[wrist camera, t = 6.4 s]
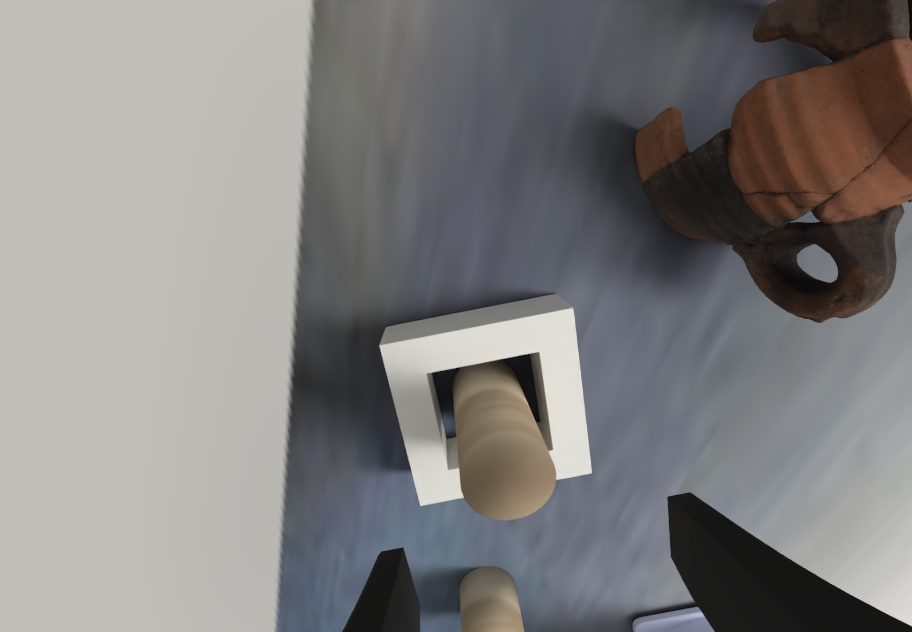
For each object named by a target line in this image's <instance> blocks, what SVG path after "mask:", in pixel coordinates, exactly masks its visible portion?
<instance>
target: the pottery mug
mask: <svg viewBox="0 0 912 632" xmlns="http://www.w3.org/2000/svg"><path fill="white" fill-rule="evenodd" d="M782 37H785V38H787V39H788V40H790V41H793V42H799V43H802V44H805V45H807V46H810V47H812V48H815V49H817V50H818V51H819V52H820V53H822V54H823V55H825V56H827V57H828V58H830V59H831V60H832V61H833V63H831V64H828V65H820V66H815V67H812V68H809V69H807V70H803V71H797V72H794V73H789V74H786V75H782V76H778V77H772V78H768V79H765V80H762V81H760V82H758V83H757V84H756V85H755V86H754V87H753V88H752V89H751V90H749V91H748V92H747V93H746V94H745V95H744V96H743V97H742V98H741V100H740V101H739V102H738V103H737V105H736V107H735V110H734V114H733V117H732V123H731V127H730V128H729V129H726V130H723V131H721V132H720V133H718V134H717V135H715V136H714V137H713V138H712V139H710V140H709V141H708V142H706V143H705V144H704V145H702V146H701V147H699V148H697V149H696V150H695V151H694V152H692V153H689V152H688V149H687V145H686V143H685V141H684V134H683V130H682V122H681V111H680V110H679V109H678V108H673V107H672V108H668V109H666V110H664V111H663V112H661V113H660V114H659V115H658V116H657V117H656V118H655V119H654V120H653V121H651V122H650V123H648V124H647V125H646V126H645V127H644V128H642V129H641V130H639V131H638V132H637V134H636V137H635V155H636V160H637V167H638V170H639V173H640V177H641V180H642V182H643V186H644V189H645V192H646V194H647V196H648V198H649V199H650V201H651V204H652V207H653V209H654V210H655V211H656V212H657V213H658V214H659V216H660V217H661V219H662V220H663V221H664V222H665V223H666V224H667V225H668V226H669V227H670V228H671V229H673V230H674V231H677V232H679V233H680V234H682V235H684V236H687V237H689V238H692V239H703V240H708V241H713V242H719V243H726V244H728V245H734V246H733V247H732V249H733V251H735V252H736V253H737V254H739V255H740V256H741V257H742V259H743V260H744V262H745V264H746V267H747V269H748V271H749V273H750V275H751V277H752V278H753V280H754V282H755V283H756V285H757V286H758V287H759V289H760V290H761V291H762V292H763V293H764V294H765V295H766V297H768V298H769V299H770V300H771V301H772V302H774V303H775V304H777V305H778V306H779V307H781V308H782V309H784V310H785V311H787V312H789V313H792V314H794V315H795V316H798V317H801V318H804V319H810V320H813V321H815V322H818V323H821V322H824V321H825V320H827V319H830V318H832V317H838V318H848V317H851V316H853V315H855V314H857V313H860V312H862V311H864V310H866V309H868V308H870V307H871V306H872V305H874V304H875V303H876V302H877V301H878V300H880V299H881V298H882V297H883V296H884V295H885V294H886V292H887V291H888V290H889V288H890V287H891V284H892V282H893V279H894V275H895V269H896V251H895V231H896V228H897V226H898V223H899V221H900V220H901V218H902V216H903V214H904V209H903V206H902V205H901V204H902V203H905V202H907V201H908V202H912V0H777V1H775V2H773V3H771V4H770V5H769V6H768V7H767V8H766V9H765V10H764V12H763V13H762V15H761V17H760V19H759V21H758V23H757V24H756V26H755V28H754V31H753V39H754V41H756V42H761V43H763V42H768V41H772V40H776V39H779V38H782ZM809 211H811V212H812V213H813V215H814V216H815V218H816V219H818V220H819V221H821V222H816V223H805V222H794V223H790V222H791V221H793V220H796V219H798V218H800V217H801V216H803V215H805V214H806V213H807V212H809ZM813 244H816V245H818V246H820V247H821V248H822V249H824V250H825V251H826V252H828V253H829V254H830V255H831V256H832V258H833V259H834V261H835V262H836V265H837V267H838V277H837V280H835V281H834V282H832V283H828V282H823V281H821V280H817V279H815V278H813V277H811V276H810V275H808V274H807V273H806V272H804V271H803V270H802V269H801V268H800V267H799V265H798V263H797V254H798V253H799V252H800V251H801V250H802V249H804V248H806V247H808V246H810V245H813Z"/></svg>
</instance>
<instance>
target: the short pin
mask: <svg viewBox="0 0 912 632" xmlns="http://www.w3.org/2000/svg"><path fill="white" fill-rule="evenodd" d="M459 592H460V609H461V626H462V632H524V627H523V622H522V617H521V612H520V607H519V602H518V597H517V592H516V587H515V583H514V580H513V578H512V576H511V575H510V574H509V573H508V572H507V571H505V570H503V569H501V568H498V567H493V566H486V567H480V568H477V569H475V570H472V571H471V572H469V573H468V574H467V575H466V576H465V577H464V578H463V580H462V581H461V584H460V588H459Z"/></svg>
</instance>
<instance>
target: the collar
mask: <svg viewBox="0 0 912 632" xmlns="http://www.w3.org/2000/svg"><path fill="white" fill-rule="evenodd" d="M379 346H380V350H381V354H382V358H383V362H384V366H385V370H386V374H387V378H388V381H389V385H390V389H391V393H392V397H393V401H394V405H395V409H396V413H397V416H398V420H399V424H400V428H401V432H402V436H403V440H404V444H405V448H406V451H407V455H408V459H409V463H410V467H411V471H412V475H413V479H414V483H415V486H416V490H417V494H418V498H419V502H420V506H422V505H428V504H433V503H438V502H443V501H449V500H454V499H459V498H464V497H463V494H462V491H461V486H460V474H459V462H458V450H457V438H456V437H455V438H450V439H446V434H445V430H444V425H443V421H442V416H441V412H440V407H439V403H438V398H437V394H436V389H435V385H434V380H433V376H432V372H437V371H442V370H448V369H453V368H458V367H463V366H468V365H474V364H479V363H484V362H489V361H494V360H499V359H505V358H510V357H515V356H520V355H525V354H530V356H531V362H532V369H533V376H534V383H535V389H536V396H537V403H538V410H539V416H540V421H538V422H536V424H537V426H538V428H539V430H540V433H541V435H542V437H543V440H544V442H545V444H546V447H547V449H548V451H549V454H550V456H551V458H552V461H553V463H554V466H555V469H556V480H559V479H564V478H569V477H575V476H580V475H585V474H590V473H592V470H591V461H590V452H589V443H588V434H587V425H586V417H585V408H584V399H583V390H582V381H581V372H580V364H579V355H578V346H577V337H576V328H575V319H574V311H573V307H571V306H570V305H569V304H568V303H567V302H566V301H564V300H563V299H562V298H561V297H560V296H559V295H557V294H552V295H547V296H541V297H536V298H531V299H526V300H521V301H516V302H511V303H506V304H500V305H495V306H490V307H485V308H480V309H475V310H470V311H464V312H459V313H454V314H449V315H444V316H439V317H434V318H428V319H423V320H418V321H413V322H408V323H403V324H398V325H392V326H387V327H386V328H385V331H384V334H383V337H382V339H381V342H380V345H379Z"/></svg>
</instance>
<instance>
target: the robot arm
mask: <svg viewBox="0 0 912 632" xmlns="http://www.w3.org/2000/svg"><path fill="white" fill-rule="evenodd" d="M668 514H669V531H670V548H671V558H672V560H673V562H674V564H675V566H676V568H677V570H678V572H679V573H680V575H681V577H682V579H683V581H684V583H685V585H686V587H687V589H688V591H689V592H690V594H691V596H692V598H693V599H694V601H695V603H696V604H697V606H698V607H693V608H688V609H682V610H677V611H672V612H666V613H661V614H656V615H650V616H645V617H640V618H637V619H636V620H634V622H633V625H632V626H633V632H912V626H910V625H908V624H906V623H904V622H902V621H900V620H898V619H896V618H894V617H892V616H890V615H888V614H886V613H884V612H882V611H880V610H878V609H876V608H875V607H873V606H871V605H869V604H867V603H865V602H863V601H861V600H859V599H858V598H856V597H854V596H852V595H850V594H848V593H846V592H845V591H843V590H841V589H839V588H837V587H836V586H834V585H832V584H830V583H829V582H827V581H825V580H823V579H822V578H820V577H818V576H817V575H815V574H813V573H812V572H810V571H808V570H807V569H805V568H803V567H802V566H800V565H798V564H797V563H795V562H793V561H792V560H790V559H789V558H787V557H785V556H784V555H782V554H781V553H779V552H777V551H776V550H774V549H773V548H771V547H770V546H768V545H767V544H765V543H764V542H762V541H761V540H759V539H757V538H756V537H754V536H753V535H751V534H750V533H748V532H747V531H745V530H744V529H743V528H741V527H740V526H738V525H737V524H735V523H734V522H732V521H731V520H729V519H728V518H726V517H725V516H724V515H722V514H721V513H719V512H718V511H716V510H715V509H713V508H712V507H711V506H709V505H708V504H706V503H705V502H703V501H702V500H700V499H699V498H698V497H696V496H695V495H693V494H692V493H690V492H689V493H684V494H679V495H674V496H669V497H668ZM343 632H420V605H419V601H418V598H417V594H416V591H415V587H414V583H413V580H412V576H411V573H410V569H409V566H408V562H407V559H406V555H405V552H404V548H398V549H393V550H387V551H382V552H381V553H380V554H379V555H378V557H377V560H376V562H375V564H374V567H373V569H372V571H371V573H370V576H369V578H368V580H367V582H366V585H365V587H364V589H363V591H362V593H361V595H360V597H359V599H358V602H357V604H356V606H355V608H354V610H353V612H352V614H351V616H350V618H349V620H348V622H347V624H346V626H345V628H344V630H343Z"/></svg>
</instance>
